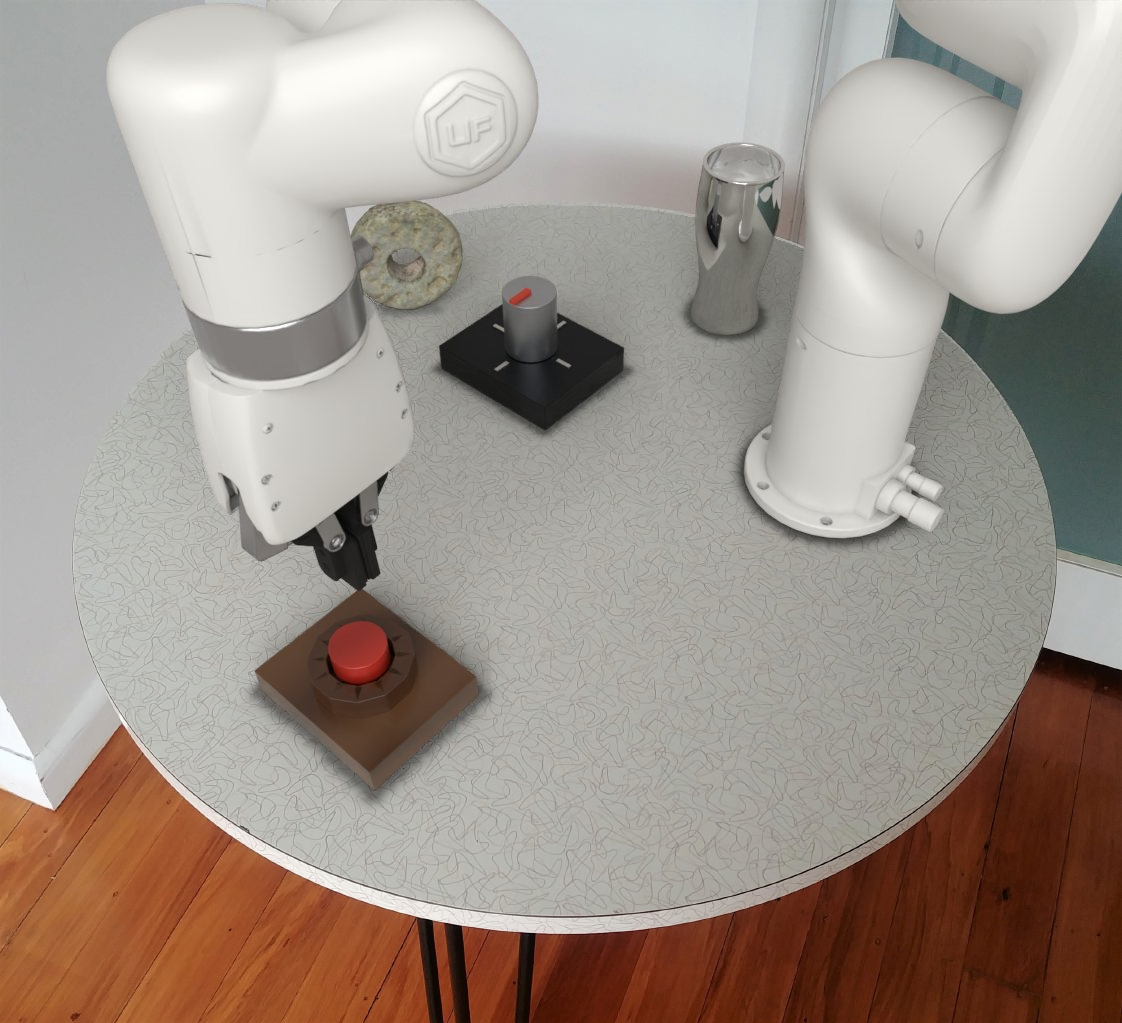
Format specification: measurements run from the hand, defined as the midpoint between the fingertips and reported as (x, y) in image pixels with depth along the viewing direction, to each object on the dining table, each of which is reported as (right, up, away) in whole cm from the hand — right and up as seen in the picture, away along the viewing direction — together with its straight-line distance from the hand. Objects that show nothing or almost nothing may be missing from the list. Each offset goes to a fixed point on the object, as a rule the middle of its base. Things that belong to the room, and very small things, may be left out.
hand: (352, 570), depth 60 cm
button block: (0, -8, +8) cm, 12 cm away
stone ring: (-2, +23, +37) cm, 44 cm away
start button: (-1, -6, +6) cm, 8 cm away
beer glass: (+27, +21, +35) cm, 49 cm away
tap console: (+9, +16, +30) cm, 35 cm away
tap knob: (+9, +17, +28) cm, 35 cm away
